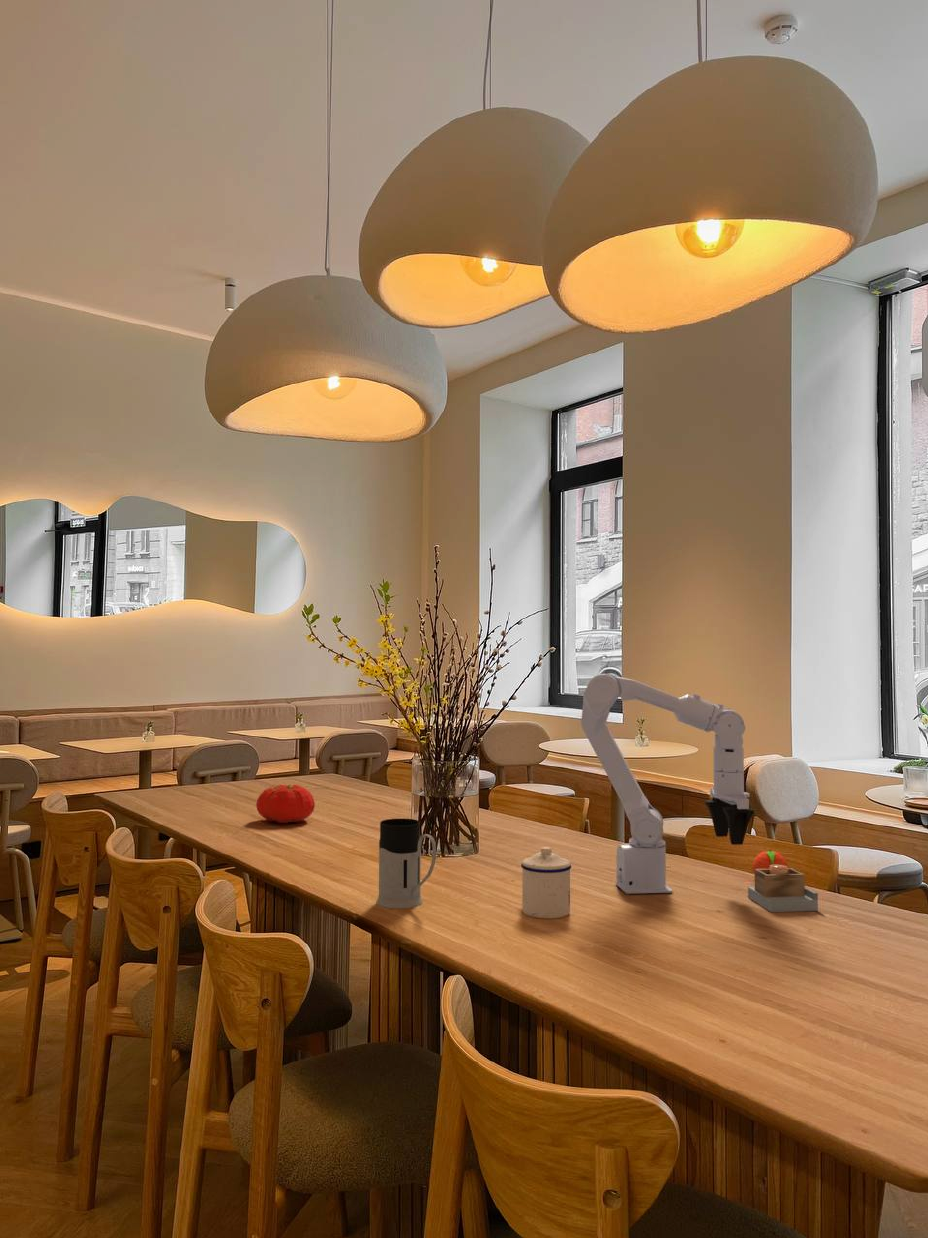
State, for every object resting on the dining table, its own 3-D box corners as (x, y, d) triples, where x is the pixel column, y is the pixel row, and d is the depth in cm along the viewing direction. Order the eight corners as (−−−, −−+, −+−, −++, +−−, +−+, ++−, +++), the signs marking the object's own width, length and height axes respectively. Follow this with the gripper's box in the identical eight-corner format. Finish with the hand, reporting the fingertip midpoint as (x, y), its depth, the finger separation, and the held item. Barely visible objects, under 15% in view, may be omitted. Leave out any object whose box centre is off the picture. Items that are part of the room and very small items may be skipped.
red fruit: (791, 892, 181) (791, 855, 181) (755, 890, 182) (755, 854, 182) (785, 882, 188) (785, 847, 189) (750, 880, 190) (750, 845, 190)
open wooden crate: (766, 897, 169) (765, 875, 169) (754, 890, 174) (754, 868, 174) (804, 896, 170) (804, 874, 170) (792, 889, 175) (792, 868, 175)
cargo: (772, 878, 170) (772, 867, 171) (767, 874, 174) (767, 864, 174) (789, 879, 170) (789, 868, 170) (785, 875, 173) (785, 864, 174)
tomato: (265, 816, 261) (265, 781, 262) (321, 818, 260) (321, 783, 260) (248, 826, 247) (249, 789, 248) (307, 827, 246) (307, 790, 246)
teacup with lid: (581, 915, 164) (581, 850, 164) (538, 922, 159) (538, 855, 160) (544, 899, 174) (544, 838, 175) (503, 905, 170) (503, 842, 171)
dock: (770, 911, 166) (770, 894, 167) (748, 897, 176) (747, 880, 176) (817, 910, 167) (817, 892, 168) (792, 896, 177) (792, 879, 177)
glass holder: (402, 893, 178) (402, 816, 179) (452, 907, 168) (452, 826, 169) (366, 901, 172) (367, 821, 173) (416, 917, 162) (417, 832, 163)
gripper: (764, 775, 173) (764, 847, 173) (733, 766, 188) (733, 832, 187) (728, 775, 172) (728, 848, 172) (700, 766, 187) (700, 833, 186)
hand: (729, 840), depth 179 cm, fingers open, 7 cm apart
